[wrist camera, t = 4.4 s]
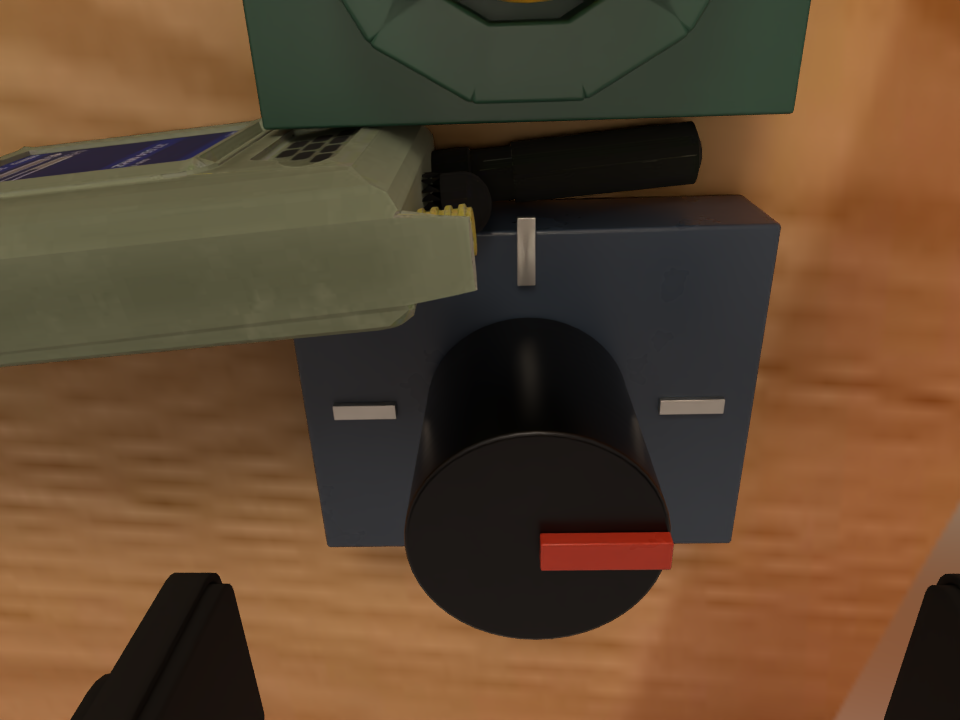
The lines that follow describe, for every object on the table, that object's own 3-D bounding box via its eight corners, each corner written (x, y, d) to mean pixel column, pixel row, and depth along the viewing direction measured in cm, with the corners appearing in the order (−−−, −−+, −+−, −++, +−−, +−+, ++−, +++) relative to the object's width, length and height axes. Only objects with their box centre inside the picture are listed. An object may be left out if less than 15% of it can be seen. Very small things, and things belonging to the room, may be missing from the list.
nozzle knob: (433, 489, 17) (411, 656, 12) (421, 317, 15) (389, 445, 10) (621, 487, 17) (664, 655, 12) (632, 313, 15) (689, 440, 10)
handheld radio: (-362, 184, 17) (685, 57, 15) (-278, 308, 19) (682, 206, 17) (-812, 290, 11) (804, 104, 9) (-635, 459, 13) (783, 327, 11)
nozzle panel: (347, 496, 20) (326, 562, 18) (303, 192, 16) (270, 224, 14) (703, 491, 20) (732, 558, 17) (745, 180, 16) (788, 210, 13)
